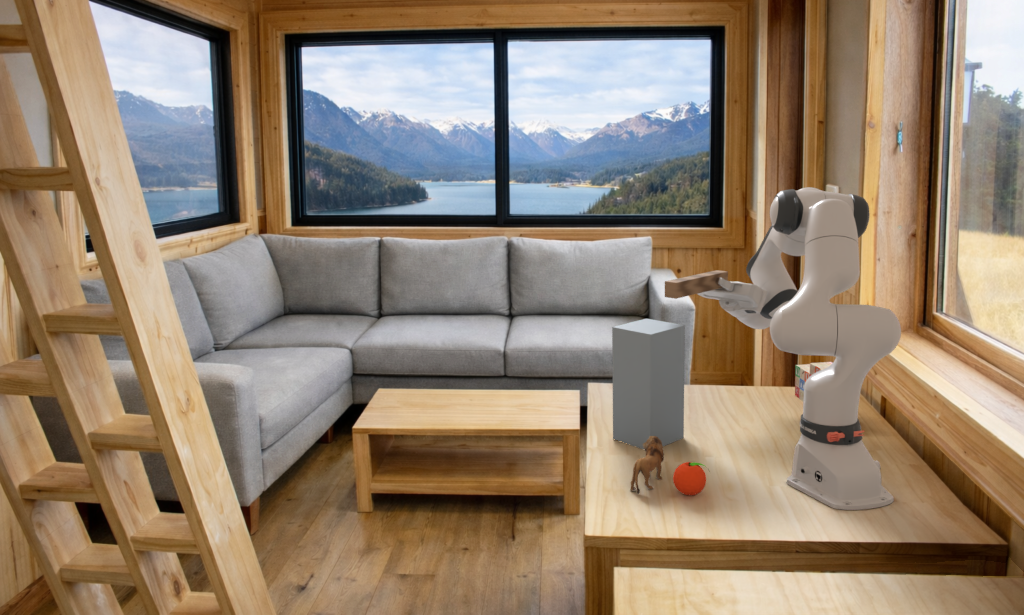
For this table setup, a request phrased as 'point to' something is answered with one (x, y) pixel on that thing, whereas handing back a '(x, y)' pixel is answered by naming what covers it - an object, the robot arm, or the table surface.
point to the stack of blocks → (806, 375)
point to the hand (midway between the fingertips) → (710, 279)
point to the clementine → (689, 478)
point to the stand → (648, 381)
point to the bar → (693, 284)
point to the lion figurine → (648, 462)
